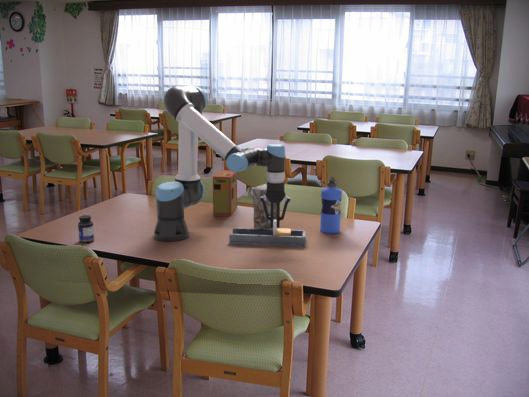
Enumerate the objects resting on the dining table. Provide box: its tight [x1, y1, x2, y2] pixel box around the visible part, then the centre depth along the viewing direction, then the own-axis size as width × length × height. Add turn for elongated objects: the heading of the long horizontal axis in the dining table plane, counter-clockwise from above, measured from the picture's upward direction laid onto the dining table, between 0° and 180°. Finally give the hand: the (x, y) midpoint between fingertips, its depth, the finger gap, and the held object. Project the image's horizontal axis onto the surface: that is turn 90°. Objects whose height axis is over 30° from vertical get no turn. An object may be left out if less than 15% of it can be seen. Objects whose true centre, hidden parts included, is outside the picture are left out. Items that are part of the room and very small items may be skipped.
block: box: [276, 227, 292, 236], centre depth 230 cm, size 6×6×4 cm
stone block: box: [252, 183, 277, 229], centre depth 248 cm, size 13×7×20 cm, turn 151°
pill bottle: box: [77, 214, 95, 243], centre depth 228 cm, size 6×6×11 cm
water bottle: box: [319, 176, 343, 235], centre depth 243 cm, size 9×9×25 cm
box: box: [212, 169, 238, 217], centre depth 274 cm, size 17×9×20 cm, turn 172°
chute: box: [228, 227, 307, 248], centre depth 230 cm, size 32×12×4 cm, turn 85°
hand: (274, 235), depth 230 cm, fingers closed
